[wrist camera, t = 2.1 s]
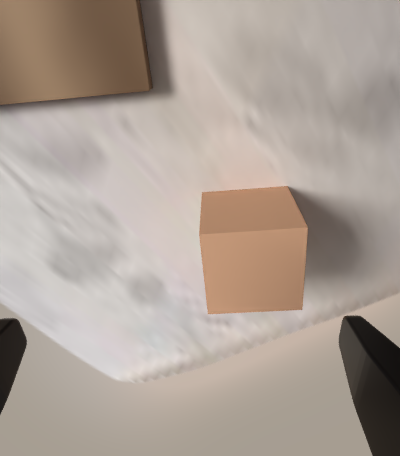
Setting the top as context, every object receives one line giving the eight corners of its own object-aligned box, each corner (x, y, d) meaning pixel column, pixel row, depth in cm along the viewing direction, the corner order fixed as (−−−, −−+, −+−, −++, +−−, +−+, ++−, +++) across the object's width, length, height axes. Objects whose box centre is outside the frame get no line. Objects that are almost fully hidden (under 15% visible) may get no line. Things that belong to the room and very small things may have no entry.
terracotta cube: (287, 185, 20) (307, 227, 16) (284, 256, 22) (302, 309, 18) (202, 191, 20) (199, 234, 16) (208, 260, 23) (208, 314, 18)
